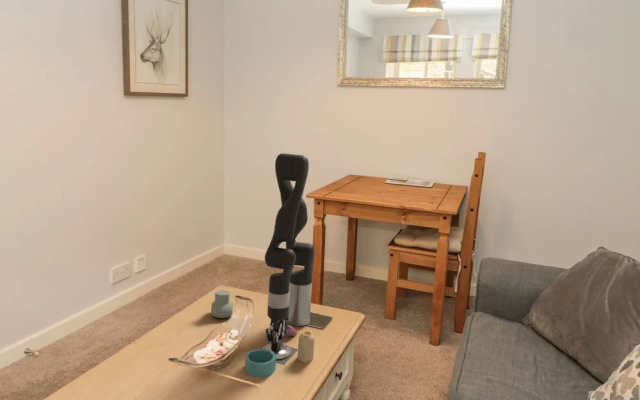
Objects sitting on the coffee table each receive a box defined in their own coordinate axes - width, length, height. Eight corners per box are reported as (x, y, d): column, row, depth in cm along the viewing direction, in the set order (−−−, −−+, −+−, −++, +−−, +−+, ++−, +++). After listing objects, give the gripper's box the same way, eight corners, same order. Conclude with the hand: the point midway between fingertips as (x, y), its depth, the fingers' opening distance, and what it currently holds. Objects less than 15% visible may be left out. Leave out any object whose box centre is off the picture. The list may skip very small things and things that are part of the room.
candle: (311, 364, 179) (312, 338, 177) (295, 362, 180) (297, 335, 178) (314, 357, 185) (316, 331, 182) (299, 354, 186) (301, 328, 183)
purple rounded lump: (270, 337, 201) (267, 325, 196) (275, 328, 204) (272, 316, 200) (294, 342, 197) (291, 331, 193) (298, 333, 200) (296, 321, 196)
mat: (269, 343, 193) (269, 341, 192) (298, 350, 188) (298, 349, 188) (253, 357, 182) (253, 356, 182) (284, 366, 177) (284, 364, 177)
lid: (270, 342, 191) (270, 330, 190) (295, 349, 188) (296, 337, 187) (256, 355, 182) (256, 342, 181) (283, 362, 178) (283, 349, 177)
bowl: (254, 359, 180) (254, 346, 179) (280, 366, 177) (280, 353, 176) (239, 373, 171) (239, 359, 170) (266, 381, 168) (267, 367, 167)
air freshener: (212, 309, 218) (213, 287, 216) (232, 309, 219) (233, 287, 217) (210, 321, 208) (210, 297, 206) (231, 321, 209) (231, 297, 207)
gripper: (277, 294, 189) (276, 337, 192) (259, 308, 176) (257, 354, 179) (296, 298, 186) (294, 342, 190) (279, 313, 173) (277, 360, 177)
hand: (276, 348), depth 185 cm, fingers closed on lid, 3 cm apart
